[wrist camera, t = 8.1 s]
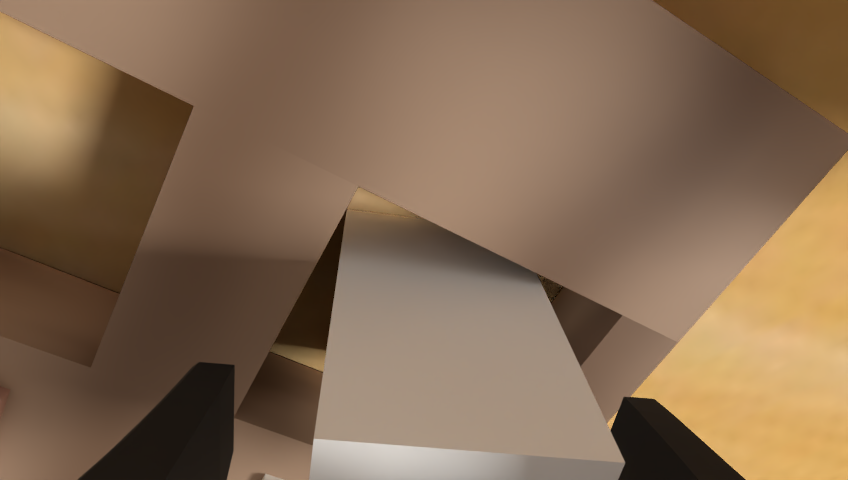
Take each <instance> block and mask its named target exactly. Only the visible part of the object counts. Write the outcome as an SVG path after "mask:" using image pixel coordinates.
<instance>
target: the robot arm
mask: <svg viewBox="0 0 848 480" xmlns="http://www.w3.org/2000/svg"><path fill="white" fill-rule="evenodd" d="M234 381H235V365H231V364H219V363H206V362H198V363H197V364H195V365H194V366H193V367H192V368H191V369H190V370H189V371H188V372H187V373H186V374H185V375H184V376H183V378H182V379H181V380H180V381H179V382H178V383H177V384H176V385H175V386H174V387H173V388H172V389H171V390H170V392H169V393H168V394H167V395H166V396H165V397H164V398H163V399H162V400H161V401H160V402H159V403H158V404H157V405H156V406H155V407H154V408H153V409H152V410H151V411H150V412H149V413H148V414H147V415H146V416H145V417H144V418H143V419H142V420H141V421H140V422H139V423H138V424H137V425H136V426H135V427H134V428H133V429H132V430H131V431H130V432H129V433H128V434H127V435H126V436H125V437H124V438H123V439H122V440H121V441H120V442H119V443H117V444H116V445H115V446H114V447H113V448H112V449H111V450H110V451H109V452H108V453H107V454H106V455H105V456H104V457H103V458H101V459H100V460H99V461H98V462H97V463H96V464H95V465H93V466H92V467H91V468H90V469H89V470H88V471H87V472H85V473H84V474H83V475H82V476H81V477H80V478H79V479H78V480H227V476H228V472H229V468H230V464H231V460H232V455H233V451H234ZM611 433H612V435H613V437H614V440H615V442H616V444H617V446H618V448H619V450H620V452H621V455H622V457H623V459H624V461H625V465H624V467H623V469H622V472H621V474H620V476H619V479H618V480H745V479H744V478H743V477H742V476H741V475H740V474H739V473H738V472H736V471H735V470H734V469H733V468H732V467H731V466H730V465H729V464H727V463H726V462H725V461H724V460H723V459H722V458H721V457H720V456H718V455H717V454H716V453H715V452H714V451H713V450H712V449H711V448H710V447H709V446H707V445H706V444H705V443H704V442H703V441H702V440H701V439H700V438H699V437H697V436H696V435H695V434H694V433H693V432H692V431H691V430H690V429H689V428H687V427H686V426H685V425H684V424H683V423H682V422H681V421H680V420H678V419H677V418H676V417H675V416H674V415H673V414H672V413H670V412H669V411H668V410H667V409H666V408H665V407H663V406H662V405H661V404H660V403H658V402H657V401H656V400H655V399H647V398H635V397H623V400H622V403H621V405H620V408H619V410H618V413H617V416H616V418H615V421H614V423H613V426H612V429H611Z"/></svg>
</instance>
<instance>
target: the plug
mask: <svg viewBox="0 0 848 480" xmlns="http://www.w3.org/2000/svg"><path fill="white" fill-rule="evenodd" d="M624 465H625V461H624V459H623V457H622V455H621V452H620V450H619V448H618V446H617V444H616V442H615V440H614V437H613V435H612V433H611V431H610V429H609V427H608V425H607V423H606V420H605V418H604V416H603V414H602V412H601V410H600V408H599V406H598V403H597V401H596V399H595V397H594V395H593V393H592V391H591V388H590V386H589V384H588V382H587V380H586V378H585V376H584V374H583V371H582V369H581V367H580V365H579V363H578V361H577V359H576V356H575V354H574V352H573V350H572V348H571V346H570V344H569V342H568V339H567V337H566V335H565V333H564V331H563V329H562V327H561V325H560V322H559V320H558V318H557V316H556V314H555V312H554V310H553V307H552V305H551V303H550V301H549V299H548V297H547V295H546V293H545V290H544V288H543V286H542V284H541V282H540V280H539V278H538V275H537V273H535V272H533V271H531V270H529V269H527V268H525V267H523V266H521V265H519V264H517V263H515V262H512V261H510V260H508V259H506V258H504V257H502V256H500V255H498V254H496V253H494V252H492V251H490V250H488V249H486V248H484V247H482V246H480V245H478V244H476V243H474V242H471V241H469V240H467V239H465V238H463V237H461V236H459V235H457V234H455V233H453V232H451V231H449V230H447V229H445V228H443V227H441V226H439V225H437V224H435V223H433V222H430V221H428V220H426V219H422V218H414V217H406V216H398V215H390V214H382V213H375V212H367V211H359V210H351V209H347V212H346V218H345V225H344V232H343V239H342V246H341V253H340V260H339V267H338V274H337V281H336V288H335V295H334V301H333V308H332V315H331V322H330V329H329V336H328V343H327V350H326V357H325V364H324V371H323V378H322V384H321V391H320V398H319V405H318V412H317V419H316V426H315V433H314V440H313V449H312V458H311V467H310V476H309V480H618V479H619V476H620V474H621V472H622V469H623V467H624Z"/></svg>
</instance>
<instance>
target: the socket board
mask: <svg viewBox="0 0 848 480" xmlns="http://www.w3.org/2000/svg"><path fill="white" fill-rule="evenodd" d="M0 12H2V13H4V14H6V15H8V16H10V17H12V18H14V19H16V20H18V21H21V22H23V23H25V24H27V25H29V26H31V27H33V28H35V29H37V30H39V31H41V32H43V33H45V34H47V35H49V36H51V37H53V38H55V39H57V40H59V41H62V42H64V43H66V44H68V45H70V46H72V47H74V48H76V49H78V50H80V51H82V52H84V53H86V54H88V55H90V56H92V57H94V58H96V59H98V60H100V61H103V62H105V63H107V64H109V65H111V66H113V67H115V68H117V69H119V70H121V71H123V72H125V73H127V74H129V75H131V76H133V77H135V78H137V79H139V80H141V81H144V82H146V83H148V84H150V85H152V86H154V87H156V88H158V89H160V90H162V91H164V92H166V93H168V94H170V95H172V96H174V97H176V98H178V99H180V100H182V101H185V102H187V103H189V104H191V105H193V106H194V107H193V109H192V112H191V115H190V117H189V120H188V122H187V125H186V127H185V130H184V132H183V135H182V137H181V140H180V142H179V145H178V147H177V150H176V153H175V155H174V158H173V160H172V163H171V165H170V168H169V170H168V173H167V175H166V178H165V180H164V183H163V186H162V188H161V191H160V193H159V196H158V198H157V201H156V203H155V206H154V208H153V211H152V213H151V216H150V218H149V221H148V224H147V226H146V229H145V231H144V234H143V236H142V239H141V241H140V244H139V246H138V249H137V251H136V254H135V257H134V259H133V262H132V264H131V267H130V269H129V272H128V274H127V277H126V279H125V282H124V284H123V287H122V289H121V292H120V294H118V293H116V292H113V291H111V290H108V289H105V288H103V287H100V286H98V285H95V284H93V283H90V282H87V281H85V280H82V279H80V278H77V277H75V276H72V275H69V274H67V273H64V272H62V271H59V270H57V269H54V268H51V267H49V266H46V265H44V264H41V263H38V262H36V261H33V260H31V259H28V258H26V257H23V256H20V255H18V254H15V253H13V252H10V251H8V250H5V249H2V248H0V480H78V479H79V478H80V477H81V476H82V475H83V474H84V473H85V472H87V471H88V470H89V469H90V468H91V467H92V466H93V465H95V464H96V463H97V462H98V461H99V460H100V459H101V458H103V457H104V456H105V455H106V454H107V453H108V452H109V451H110V450H111V449H112V448H113V447H114V446H115V445H116V444H117V443H119V442H120V441H121V440H122V439H123V438H124V437H125V436H126V435H127V434H128V433H129V432H130V431H131V430H132V429H133V428H134V427H135V426H136V425H137V424H138V423H139V422H140V421H141V420H142V419H143V418H144V417H145V416H146V415H147V414H148V413H149V412H150V411H151V410H152V409H153V408H154V407H155V406H156V405H157V404H158V403H159V402H160V401H161V400H162V399H163V398H164V397H165V396H166V395H167V394H168V393H169V392H170V390H171V389H172V388H173V387H174V386H175V385H176V384H177V383H178V382H179V381H180V380H181V379H182V378H183V376H184V375H185V374H186V373H187V372H188V371H189V370H190V369H191V368H192V367H193V366H194V365H195V364H197V363H198V362H206V363H219V364H231V365H235V381H234V451H233V455H232V460H231V464H230V468H229V472H228V476H227V480H309V476H310V467H311V458H312V449H313V440H314V433H315V426H316V419H317V412H318V405H319V398H320V391H321V384H322V378H323V373H322V372H319V371H317V370H314V369H312V368H309V367H307V366H304V365H301V364H299V363H296V362H294V361H291V360H288V359H286V358H283V357H281V356H278V355H276V354H273V353H270V352H269V351H270V349H271V347H272V345H273V343H274V342H275V340H276V338H277V336H278V334H279V332H280V331H281V329H282V327H283V325H284V323H285V321H286V319H287V318H288V316H289V314H290V312H291V310H292V308H293V306H294V305H295V303H296V301H297V299H298V297H299V295H300V294H301V292H302V290H303V288H304V286H305V284H306V282H307V281H308V279H309V277H310V275H311V273H312V271H313V270H314V268H315V266H316V264H317V262H318V260H319V258H320V257H321V255H322V253H323V251H324V249H325V247H326V245H327V244H328V242H329V240H330V238H331V236H332V234H333V233H334V231H335V229H336V227H337V225H338V223H339V221H340V220H341V218H342V216H343V214H344V212H345V210H346V209H347V207H348V205H349V203H350V201H351V199H352V197H353V196H354V194H355V192H356V190H357V188H358V186H359V187H361V188H363V189H365V190H367V191H369V192H371V193H373V194H375V195H377V196H379V197H381V198H383V199H385V200H387V201H389V202H392V203H394V204H396V205H398V206H400V207H402V208H404V209H406V210H408V211H410V212H412V213H414V214H416V215H418V216H420V217H422V218H424V219H426V220H428V221H430V222H433V223H435V224H437V225H439V226H441V227H443V228H445V229H447V230H449V231H451V232H453V233H455V234H457V235H459V236H461V237H463V238H465V239H467V240H469V241H471V242H474V243H476V244H478V245H480V246H482V247H484V248H486V249H488V250H490V251H492V252H494V253H496V254H498V255H500V256H502V257H504V258H506V259H508V260H510V261H512V262H515V263H517V264H519V265H521V266H523V267H525V268H527V269H529V270H531V271H533V272H535V273H537V274H539V275H541V276H543V277H545V278H547V279H549V280H551V281H553V282H556V283H558V284H560V285H562V286H564V287H563V288H562V289H561V291H560V292H559V293H558V295H557V296H556V297H555V299H554V300H553V301H552V303H551V305H552V307H553V310H554V312H555V314H556V316H557V318H558V320H559V322H560V325H561V327H562V329H563V331H564V333H565V335H566V337H567V339H568V342H569V344H570V346H571V348H572V350H573V352H574V354H575V356H576V359H577V361H578V363H579V365H580V367H581V369H582V371H583V374H584V376H585V378H586V380H587V382H588V384H589V386H590V388H591V391H592V393H593V395H594V397H595V399H596V401H597V403H598V406H599V408H600V410H601V412H602V414H603V416H604V418H605V420H606V423H607V422H608V421H609V420H610V419H611V418H612V417H613V416H614V414H615V413H616V412H617V411H618V410H619V408H620V405H621V403H622V400H623V397H630V396H631V395H632V394H633V393H634V392H635V391H636V390H637V388H638V387H639V386H640V385H641V384H642V383H643V382H644V380H645V379H646V378H647V377H648V376H649V375H650V374H651V373H652V371H653V370H654V369H655V368H656V367H657V366H658V365H659V363H660V362H661V361H662V360H663V359H664V358H665V357H666V356H667V354H668V353H669V352H670V351H671V350H672V349H673V348H674V346H675V345H676V344H677V343H678V342H679V341H680V340H681V339H682V337H683V336H684V335H685V334H686V333H687V332H688V331H689V329H690V328H691V327H692V326H693V325H694V324H695V323H696V322H697V320H698V319H699V318H700V317H701V316H702V315H703V314H704V312H705V311H706V310H707V309H708V308H709V307H710V306H711V305H712V303H713V302H714V301H715V300H716V299H717V298H718V297H719V295H720V294H721V293H722V292H723V291H724V290H725V289H726V288H727V286H728V285H729V284H730V283H731V282H732V281H733V280H734V278H735V277H736V276H737V275H738V274H739V273H740V272H741V271H742V269H743V268H744V267H745V266H746V265H747V264H748V263H749V261H750V260H751V259H752V258H753V257H754V256H755V255H756V254H757V252H758V251H759V250H760V249H761V248H762V247H763V246H764V244H765V243H766V242H767V241H768V240H769V239H770V238H771V237H772V235H773V234H774V233H775V232H776V231H777V230H778V229H779V227H780V226H781V225H782V224H783V223H784V222H785V221H786V220H787V218H788V217H789V216H790V215H791V214H792V213H793V212H794V210H795V209H796V208H797V207H798V206H799V205H800V204H801V203H802V201H803V200H804V199H805V198H806V197H807V196H808V195H809V193H810V192H811V191H812V190H813V189H814V188H815V187H816V186H817V184H818V183H819V182H820V181H821V180H822V179H823V178H824V176H825V175H826V174H827V173H828V172H829V171H830V170H831V169H832V167H833V166H834V165H835V164H836V163H837V162H838V161H839V159H840V158H841V157H842V156H843V155H844V154H845V153H846V152H847V150H848V133H846V132H845V131H844V130H842V129H841V128H839V127H838V126H836V125H835V124H833V123H832V122H830V121H829V120H827V119H826V118H824V117H823V116H822V115H820V114H819V113H817V112H816V111H814V110H813V109H811V108H810V107H808V106H807V105H805V104H804V103H802V102H801V101H799V100H798V99H797V98H795V97H794V96H792V95H791V94H789V93H788V92H786V91H785V90H783V89H782V88H780V87H779V86H777V85H776V84H774V83H773V82H772V81H770V80H769V79H767V78H766V77H764V76H763V75H761V74H760V73H758V72H757V71H755V70H754V69H752V68H751V67H749V66H748V65H747V64H745V63H744V62H742V61H741V60H739V59H738V58H736V57H735V56H733V55H732V54H730V53H729V52H727V51H726V50H725V49H723V48H722V47H720V46H719V45H717V44H716V43H714V42H713V41H711V40H710V39H708V38H707V37H705V36H704V35H702V34H701V33H700V32H698V31H697V30H695V29H694V28H692V27H691V26H689V25H688V24H686V23H685V22H683V21H682V20H680V19H679V18H677V17H676V16H675V15H673V14H672V13H670V12H669V11H667V10H666V9H664V8H663V7H661V6H660V5H658V4H657V3H655V2H654V1H652V0H0Z"/></svg>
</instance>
